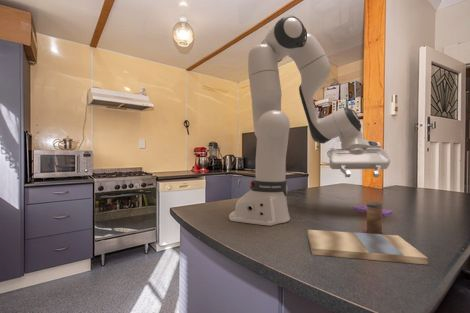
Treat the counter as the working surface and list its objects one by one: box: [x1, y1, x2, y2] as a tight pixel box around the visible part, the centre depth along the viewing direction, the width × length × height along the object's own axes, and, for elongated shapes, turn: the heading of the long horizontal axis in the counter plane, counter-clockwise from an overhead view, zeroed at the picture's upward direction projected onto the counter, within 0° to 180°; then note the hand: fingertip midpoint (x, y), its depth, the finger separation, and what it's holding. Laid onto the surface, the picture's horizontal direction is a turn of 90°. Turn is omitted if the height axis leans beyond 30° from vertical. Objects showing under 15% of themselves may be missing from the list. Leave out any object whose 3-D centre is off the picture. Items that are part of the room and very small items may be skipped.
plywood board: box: [307, 229, 429, 265], centre depth 61 cm, size 24×14×2 cm, turn 77°
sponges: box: [352, 204, 393, 217], centre depth 96 cm, size 7×13×2 cm, turn 34°
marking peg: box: [366, 201, 383, 235], centre depth 71 cm, size 4×4×9 cm
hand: (362, 176), depth 84 cm, fingers open, 8 cm apart
